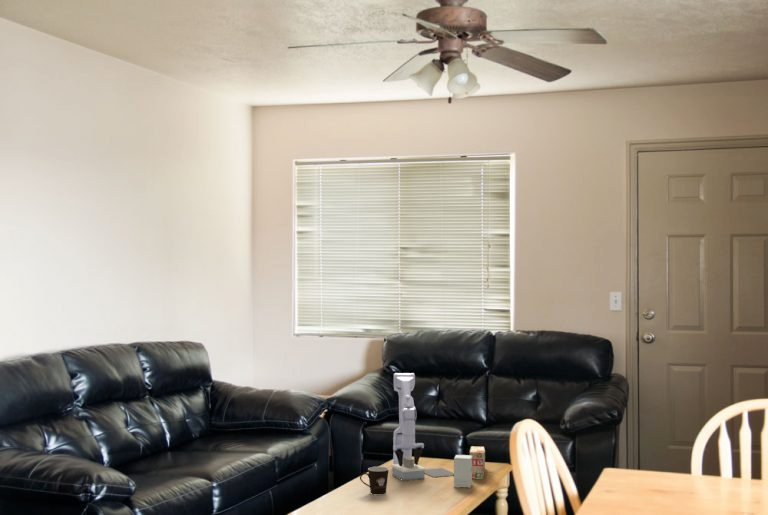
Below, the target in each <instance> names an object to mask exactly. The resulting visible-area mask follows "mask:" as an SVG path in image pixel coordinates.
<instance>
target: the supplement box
mask: <svg viewBox="0 0 768 515" xmlns="http://www.w3.org/2000/svg"><path fill="white" fill-rule="evenodd" d="M453 473H454V476H453V487H454V488H460V487H470V488H471V487H472V485H473V479H472V456H471V455H470V454H469V455H468V454H467V455H466V454H455V456H454V458H453Z"/></svg>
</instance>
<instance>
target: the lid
mask: <svg viewBox="0 0 768 515" xmlns="http://www.w3.org/2000/svg"><path fill="white" fill-rule="evenodd" d="M391 467H392V468H393V467H394V468H396V469H398V470H400V471H402V472H413V471H423V470H426V467H423V466H421V465H419V464H418V465H415V464H414V458H413V459H411V458H409V457H404V458H403V465H402V466H399V464H394V465H392V464H391Z"/></svg>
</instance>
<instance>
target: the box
mask: <svg viewBox="0 0 768 515" xmlns="http://www.w3.org/2000/svg"><path fill="white" fill-rule="evenodd" d="M393 475H394V476H393ZM392 476H393V477H395V476H396V477H395V478H397V477H398V478H397V479H399V478H400V479H399V480H401V479H402V480H401V481H402V482H409V481H410V480H412V481H418V480H419V481H420V480H425V473H424V470H423V471H413V472H402V471H400V470H398V469H396V468H394V467H392Z"/></svg>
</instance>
